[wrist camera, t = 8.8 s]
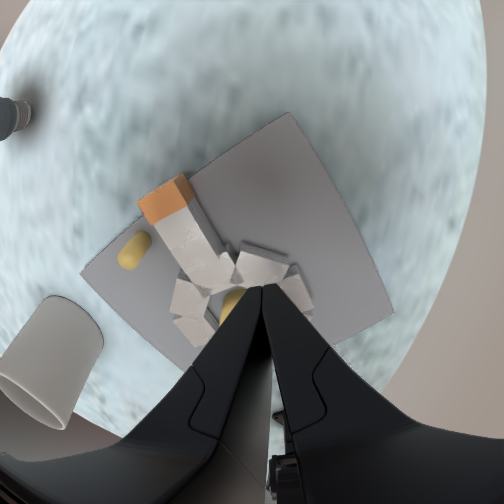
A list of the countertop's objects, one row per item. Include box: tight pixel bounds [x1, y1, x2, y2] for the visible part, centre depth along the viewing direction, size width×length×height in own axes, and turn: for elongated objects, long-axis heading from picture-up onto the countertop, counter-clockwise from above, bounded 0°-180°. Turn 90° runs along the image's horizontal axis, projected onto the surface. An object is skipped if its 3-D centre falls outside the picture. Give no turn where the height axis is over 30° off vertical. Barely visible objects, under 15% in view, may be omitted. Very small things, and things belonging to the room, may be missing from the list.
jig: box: [80, 112, 394, 372], centre depth 20 cm, size 18×20×4 cm
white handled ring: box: [137, 172, 314, 347], centre depth 18 cm, size 10×15×2 cm, turn 26°
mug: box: [0, 296, 103, 430], centre depth 20 cm, size 12×8×11 cm
